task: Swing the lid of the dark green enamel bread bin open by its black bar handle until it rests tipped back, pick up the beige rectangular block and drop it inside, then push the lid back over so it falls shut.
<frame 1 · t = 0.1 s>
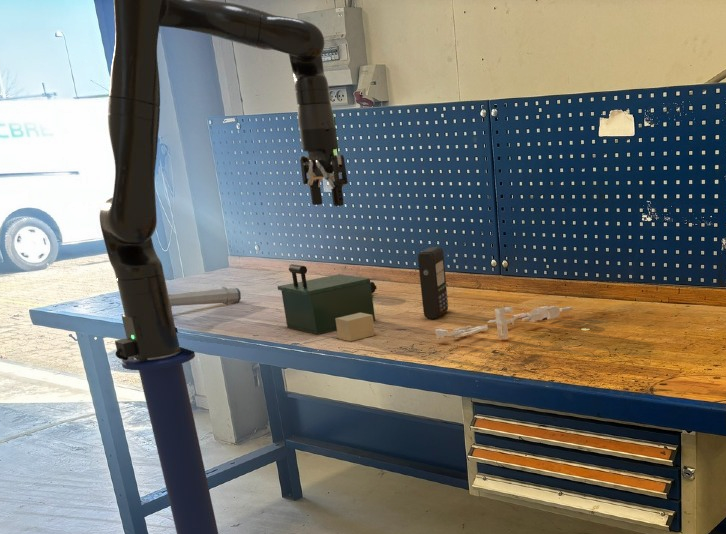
hand: (328, 205, 188), 26 cm above the table, tool pointing down, fingers open, 8 cm apart
bread bin: (331, 324, 195), on the table
bin lid: (322, 273, 191), point 12 cm above the table, hinge at -0.1°
card reader: (436, 316, 197), on the table
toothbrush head: (195, 311, 220), on the table
grey elongated piece: (501, 332, 178), on the table
beige rectangular block: (356, 336, 182), on the table
tape measure: (364, 297, 223), on the table
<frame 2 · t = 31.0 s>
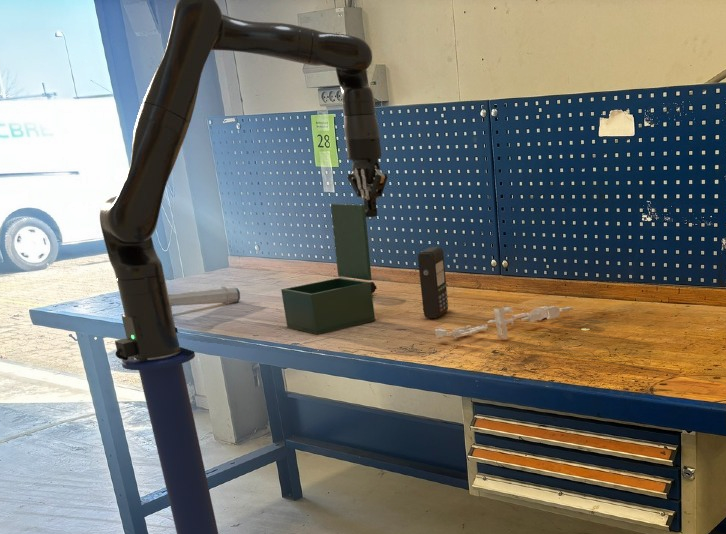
hand: (371, 216, 196), 22 cm above the table, tool pointing down, fingers closed
bin lid: (359, 240, 196), point 17 cm above the table, hinge at 92.2°, touching gripper
beige rectangular block: (327, 321, 194), point 1 cm above the table, touching bread bin
everything else where it was.
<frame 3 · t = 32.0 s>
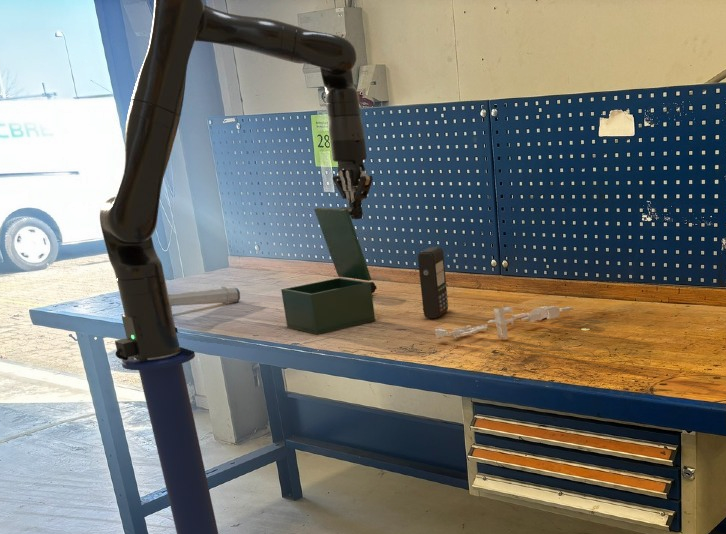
hand: (357, 218, 194), 22 cm above the table, tool pointing down, fingers closed
bin lid: (351, 240, 194), point 18 cm above the table, hinge at 76.3°, touching gripper
everything else where it was.
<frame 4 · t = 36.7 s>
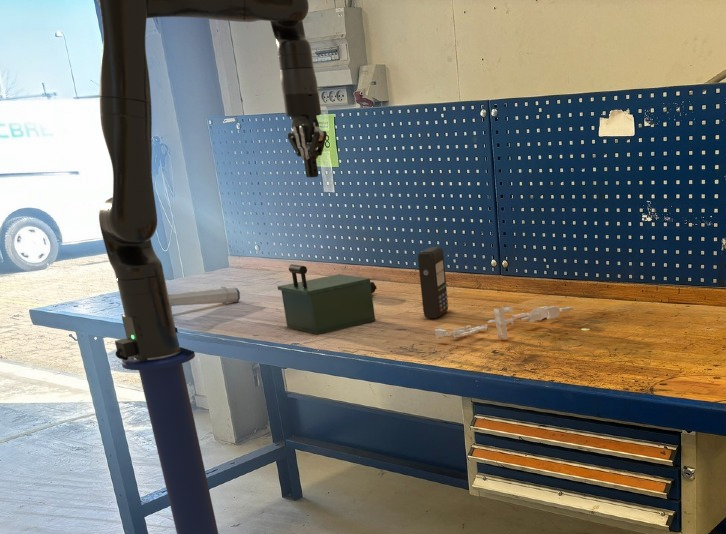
hand: (312, 177, 188), 32 cm above the table, tool pointing down, fingers closed
bin lid: (322, 273, 191), point 12 cm above the table, hinge at -0.1°
everything else where it was.
at the end: bin lid reached +99° during the clip, +0° at the end; beige rectangular block inside the target area in the bread bin (1.0 cm from its centre), point 0.8 cm above the bread bin's base; bin lid at +0° (first picture: +0°) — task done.
